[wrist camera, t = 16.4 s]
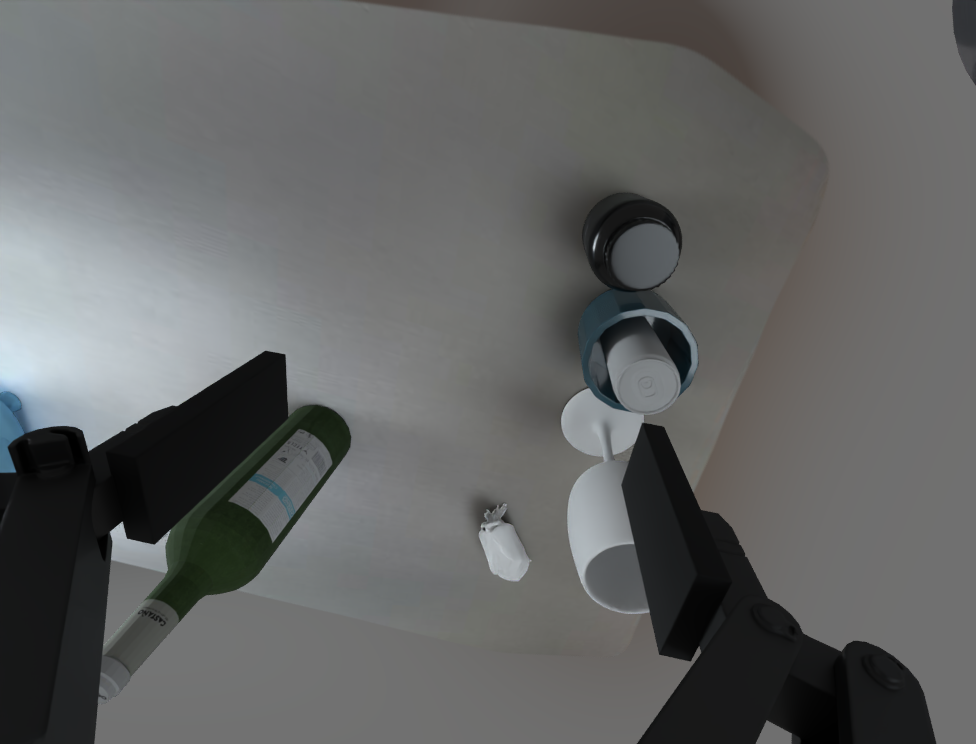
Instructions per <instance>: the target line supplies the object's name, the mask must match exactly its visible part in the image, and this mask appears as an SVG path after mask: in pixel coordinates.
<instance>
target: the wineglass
mask: <svg viewBox="0 0 976 744" xmlns="http://www.w3.org/2000/svg"><path fill="white" fill-rule="evenodd" d="M642 423H644V415H641V414H637V413H632V412H627V411H623V410H618V409H613V408H611V407H610V406H608V405H607V404H605V403H604V402H602V401H601V400H599V399H598V398H596V397H595V396H594V394H593V393H592V391H591V390H590V388H588V389H585V390H583V391H581V392H579V393H578V394H576V395H575V396H574V397H573V398H572V399H571V400H570V401H569V402H568V403H567V405H566V406H565V408H564V410H563V413H562V418H561V426H562V431H563V433H564V436H565V437H566V439H567V440H568V442H569V443H570V444H571V445H572V446H573V447H574V448H576V449H577V450H579V451H581V452H583V453H585V454H588V455H593V456H603V457H604V462H602V463H599V464H597V465H594V466H592V467H591V468H589V469H588V470H586V471H585V472H584V473H583V474H582V475H581V476H580V477H579V478H578V480H577V481H576V483H575V484H574V486H573V488H572V491H571V493H570V497H569V502H568V513H567V523H568V535H569V541H570V546H571V551H572V555H573V558H574V562H575V565H576V568H577V571H578V574H579V577H580V579H581V582H582V585H583V587H584V589H585V590H586V592H587V593H588V595H589V596H590V597H591V598H592V599H593V600H594V601H595V602H597V603H598V604H600V605H601V606H603V607H605V608H607V609H610V610H613V611H616V612H620V613H627V614H641V613H648V612H650V611H649V607H648V602H647V598H646V593H645V589H644V584H643V580H642V576H641V571H640V567H639V562H638V558H637V553H636V549H635V544H634V540H633V535H632V531H631V527H630V522H629V518H628V513H627V509H626V504H625V500H624V495H623V491H622V486H621V484H622V481H623V478H624V475H625V472H626V469H627V466H628V463H629V462H627V461H619V460H614V456H613V455H615V454H618V453H621V452H623V451H625V450H626V449H628V448H629V447H631V446H632V445H633V444H634V443H635V442H636V439H637V436H638V433H639V430H640V427H641V425H642Z"/></svg>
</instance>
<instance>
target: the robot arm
mask: <svg viewBox="0 0 976 744" xmlns="http://www.w3.org/2000/svg"><path fill="white" fill-rule="evenodd" d="M287 419H288V402H287V379H286V356H285V354H280V353H275V352H269V351H264V352H263V353H261V354H260V355H258V356H256V357H255V358H253V359H252V360H250V361H248V362H247V363H245V364H244V365H242V366H241V367H239V368H237V369H236V370H234V371H233V372H231V373H229V374H228V375H226V376H225V377H223V378H221V379H220V380H218V381H217V382H215V383H214V384H212V385H210V386H209V387H207V388H206V389H204V390H202V391H201V392H199V393H198V394H196V395H194V396H193V397H191V398H190V399H188V400H187V401H185V402H183V403H182V404H180V405H179V406H170V407H167V408H164V409H161V410H158V411H156V412H153V413H151V414H150V415H148V416H146V417H145V418H143V419H141V420H140V421H138V423H137V424H136V423H135V424H133V425H131V426H130V427H128V428H126V430H125V431H122V432H120V433H118V434H117V435H115V436H113V437H112V438H110V439H108V440H107V441H105V442H103V443H102V444H100V445H98V446H97V447H95V448H93V449H92V450H90V451H89V452H88V449H87V445H86V441H85V438H84V434H83V431H82V430H80V429H78V428H76V427H69V426H56V427H48V428H43V429H38V430H35V431H32V432H29V433H27V434H24V435H22V436H20V437H18V438H17V439H15V440H13V441H12V442H11V443H10V445H9V446H8V447H7V448H8V451H9V453H10V456H11V459H12V462H13V465H14V467H15V470H16V472H9V473H0V744H94V740H95V729H96V718H97V707H98V696H99V685H100V674H101V663H102V652H103V640H104V630H105V619H106V607H107V596H108V584H109V574H110V562H111V552H112V538H111V535H110V531H111V530H112V529H114V528H115V527H116V526H117V525H119V524H120V523H121V522H122V521H123V525H124V529H125V533H126V537H127V539H131V540H136V541H141V542H145V543H150V544H154V545H155V544H156V543H157V542H158V541H159V540H160V539H161V538H162V537H163V536H164V535H165V534H166V533H167V532H168V531H169V530H171V529H172V528H173V527H174V526H175V525H176V524H177V523H178V522H179V521H180V520H181V519H182V518H183V517H184V516H185V515H186V514H188V513H189V512H190V511H191V510H192V509H193V508H194V507H195V506H196V505H197V504H198V503H199V502H200V501H201V500H202V499H203V498H204V497H206V496H207V495H208V494H209V493H210V492H211V491H212V490H213V489H214V488H215V487H216V486H217V485H218V484H219V483H220V482H221V481H223V480H224V479H225V478H226V477H227V476H228V475H229V474H230V473H231V472H232V471H233V470H234V469H235V468H236V467H237V466H238V465H240V464H241V463H242V462H243V461H244V460H245V459H246V458H247V457H248V456H249V455H250V454H251V453H252V452H253V451H254V450H255V449H256V448H258V447H259V446H260V445H261V444H262V443H263V442H264V441H265V440H266V439H267V438H268V437H269V436H270V435H271V434H272V433H273V432H275V431H276V430H277V429H278V428H279V427H280V426H281V425H282V424H283V423H284V422H285V421H286V420H287ZM621 486H622V491H623V495H624V500H625V504H626V509H627V513H628V518H629V522H630V527H631V531H632V535H633V540H634V544H635V549H636V553H637V558H638V562H639V567H640V571H641V576H642V580H643V584H644V589H645V593H646V598H647V602H648V607H649V611H650V615H651V620H652V625H653V629H654V633H655V637H656V642H657V647H658V651H659V655H664V656H668V657H673V658H677V659H682V660H687V661H691V660H692V658H693V656H694V654H695V652H696V650H697V648H698V647H699V646H700V649H701V654H700V656H699V657H698V659H697V660H696V661H695V663H694V664H693V666H692V667H691V668H690V670H689V671H688V673H687V674H686V675H685V677H684V678H683V680H682V681H681V682H680V684H679V685H678V687H677V688H676V690H675V691H674V693H673V694H672V695H671V697H670V698H669V699H668V701H667V702H666V704H665V705H664V706H663V708H662V709H661V711H660V712H659V714H658V715H657V716H656V718H655V719H654V721H653V722H652V723H651V725H650V726H649V728H648V729H647V730H646V732H645V734H644V735H643V736H642V738H641V739H640V740H639V742H638V743H637V744H756V741H757V739H758V737H759V735H760V733H761V731H762V729H763V727H764V724H765V722H766V720H768V721H769V722H771V723H773V724H775V725H777V726H779V727H781V728H783V729H784V730H786V731H788V732H790V733H792V744H936V741H935V737H934V732H933V728H932V724H931V720H930V717H929V713H928V708H927V704H926V700H925V696H924V693H923V690H922V688H921V686H920V684H919V682H918V680H917V679H916V678H915V677H914V676H913V674H912V673H911V672H910V671H909V669H908V668H906V667H905V666H904V665H903V664H902V663H901V662H900V661H899V660H897V659H896V658H895V657H894V656H892V655H891V654H889V653H887V652H886V651H884V650H883V649H881V648H879V647H877V646H874V645H872V644H869V643H867V642H861V641H853V642H851V643H849V644H847V645H846V647H845V648H844V649H843V650H842V652H841V651H838V650H837V649H835V648H832V647H830V646H828V645H826V644H824V643H822V642H819V641H817V640H815V639H813V638H811V637H809V636H807V635H805V634H803V632H802V630H801V628H800V626H799V624H798V622H797V621H796V620H795V619H794V618H793V616H792V615H791V614H790V613H789V612H788V611H786V610H785V609H784V608H783V607H782V606H780V605H779V604H777V603H775V602H773V601H772V600H770V599H768V598H767V596H766V594H765V592H764V590H763V588H762V586H761V584H760V582H759V580H758V578H757V576H756V574H755V572H754V570H753V568H752V566H751V564H750V562H749V560H748V558H747V557H745V553H744V551H743V549H742V547H741V545H739V541H738V539H737V537H736V535H735V533H734V531H733V529H732V527H731V526H729V524H728V523H727V522H726V521H725V520H724V519H723V518H722V517H721V516H720V515H719V514H718V513H713V512H708V511H703V510H701V509H700V507H699V505H698V503H697V500H696V498H695V496H694V494H693V491H692V489H691V487H690V485H689V482H688V480H687V478H686V476H685V473H684V471H683V469H682V467H681V464H680V462H679V460H678V457H677V455H676V453H675V451H674V448H673V446H672V444H671V442H670V439H669V437H668V435H667V433H666V430H665V428H664V427H662V426H657V425H652V424H647V423H642V425H641V427H640V430H639V433H638V436H637V439H636V442H635V445H634V448H633V451H632V454H631V457H630V460H629V463H628V466H627V469H626V472H625V475H624V478H623V481H622V484H621Z"/></svg>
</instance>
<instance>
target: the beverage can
mask: <svg viewBox="0 0 976 744" xmlns="http://www.w3.org/2000/svg"><path fill="white" fill-rule="evenodd" d="M600 340H601V345H602V349H603V352H604V356H605V360H606V364H607V367H608V371H609V375H610V379H611V383H612V386H613V390H614V393H615V395H616V397H617V399H618V400H619V401H620V403H621V404H622V405H623V406H624V407H625V408H626V409H628V410H629V411H631V412H633V413H637V414H641V415H651V414H656V413H659V412H662V411H664V410H665V409H667V408H668V407H670V406H671V405H672V404H673V403H674V402H675V401H676V399H677V397H678V395H679V393H680V387H681V383H680V376H679V372H678V370H677V368H676V366H675V364H674V362H673V361H672V359H671V358H670V356H669V354H668V353H667V351H666V350H665V348H664V346H663V345H662V343H661V342H660V340H659V338H658V337H657V335H656V333H655V332H654V330H653V329H652V327H651V325H650V324H649V322H648V321H647V320H646V319H645V318H644V317H642V316H638V317H632V318H626V319H623V320H621V321H619V322H617V323H616V324H614V325H612V326H611V327H609V328H607V329H606V330H605V331H604V332H603V333H602V335H601V336H600Z"/></svg>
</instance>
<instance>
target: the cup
mask: <svg viewBox="0 0 976 744" xmlns="http://www.w3.org/2000/svg"><path fill="white" fill-rule="evenodd" d="M638 316H642V317H644V318H645V319H646V320H647V321H648V322H649V324H650V325H651V327H652V329H653V330H654V332H655V333H656V335H657V337H658V338H659V340H660V342H661V343H662V345H663V346H664V348H665V350H666V351H667V353H668V354H669V356H670V358H671V359H672V361H673V362H674V364H675V366H676V368H677V370H678V372H679V376H680V383H681V387H680V393H679V395H678V397H679V396H680V395H681V394H682V393H683V392H684V391H685V390H686V389H687V388H688V387H689V385H690V384H691V382H692V379H693V377H694V374H695V372H696V369H697V367H698V364H699V363H698V344H697V342H696V340H695V338H694V337H693V335H692V333H691V331H690V330H689V328H688V326H687V325H686V324H685V322H684V321H683V320H682V319H681V318H680V317H679V315H678V314H677V313H676V312H675V311H674V310H673V308H672V307H671V306H670V305H669V304H668V303H667V301H665V300H664V299H663V298H661V297H660V296H659V295H658V294H656V293H654V292H653V291H651V290H647V291H639V292H621V291H617V290H614V289H611V290H608V291H606V292H604V293H603V294H601V295H599V296H598V297H597V298H595V299H594V300H593V301H592V302H591V303H590V304H589V306H588V307H587V308H586V310H585V311H584V313H583V315H582V317H581V320H580V323H579V328H578V341H579V348H580V355H581V362H582V368H583V375H584V380H585V382H586V384H587V385H588V387H589V388H590V390H591V391H592V393H593V394H594V396H595V397H596V398H598V399H599V400H601V401H602V402H604V403H605V404H607V405H608V406H610V407H611V408H613V409H618V410H623V411H627V412H631V411H629V410H628V409H626V408H625V407H624V406H623V405H622V404H621V403H620V401H619V400H618V399H617V397H616V395H615V393H614V390H613V386H612V383H611V379H610V375H609V371H608V367H607V364H606V360H605V356H604V352H603V349H602V345H601V340H600V336H601V335H602V333H603V332H604V331H605V330H606V329H607V328H609V327H611V326H612V325H614V324H616V323H617V322H619V321H621V320H623V319H626V318H632V317H638ZM678 397H677V398H678ZM632 413H633V412H632Z"/></svg>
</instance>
